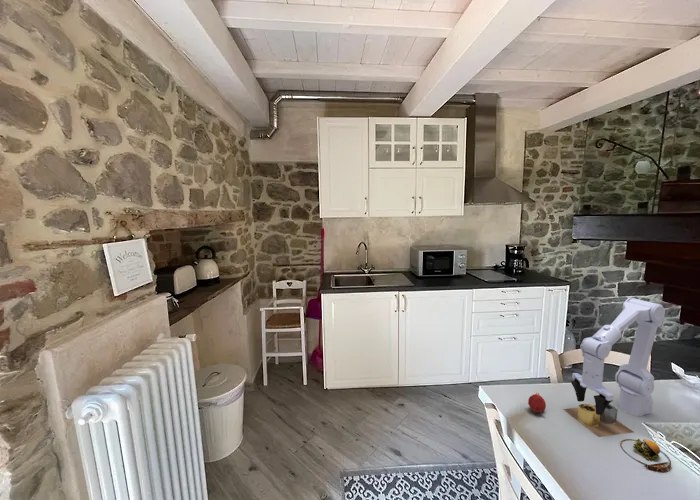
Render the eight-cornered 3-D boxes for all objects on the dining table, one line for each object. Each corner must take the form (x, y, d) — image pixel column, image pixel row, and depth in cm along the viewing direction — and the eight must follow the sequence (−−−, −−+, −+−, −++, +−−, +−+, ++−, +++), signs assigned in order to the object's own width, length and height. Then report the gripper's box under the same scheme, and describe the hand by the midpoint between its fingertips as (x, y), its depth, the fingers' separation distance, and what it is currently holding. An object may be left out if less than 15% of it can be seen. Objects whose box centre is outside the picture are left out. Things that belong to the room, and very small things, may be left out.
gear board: (594, 408, 123) (595, 398, 123) (634, 435, 109) (635, 424, 108) (562, 412, 121) (563, 401, 121) (598, 440, 107) (599, 428, 106)
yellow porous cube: (588, 415, 117) (589, 403, 117) (601, 425, 112) (602, 412, 111) (575, 417, 116) (576, 404, 116) (588, 426, 111) (589, 413, 111)
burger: (619, 438, 108) (621, 418, 107) (668, 455, 100) (671, 433, 99) (620, 460, 98) (622, 438, 97) (673, 480, 91) (677, 457, 90)
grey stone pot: (604, 413, 118) (605, 401, 118) (618, 422, 113) (619, 410, 112) (592, 415, 118) (593, 402, 117) (605, 424, 112) (606, 411, 112)
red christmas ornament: (547, 418, 118) (549, 398, 117) (530, 416, 119) (532, 396, 118) (541, 408, 124) (543, 389, 123) (525, 406, 125) (526, 387, 124)
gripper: (566, 363, 118) (563, 396, 120) (601, 384, 104) (598, 421, 106) (582, 361, 119) (579, 394, 121) (620, 382, 105) (616, 419, 107)
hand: (589, 407), depth 114 cm, fingers open, 7 cm apart
